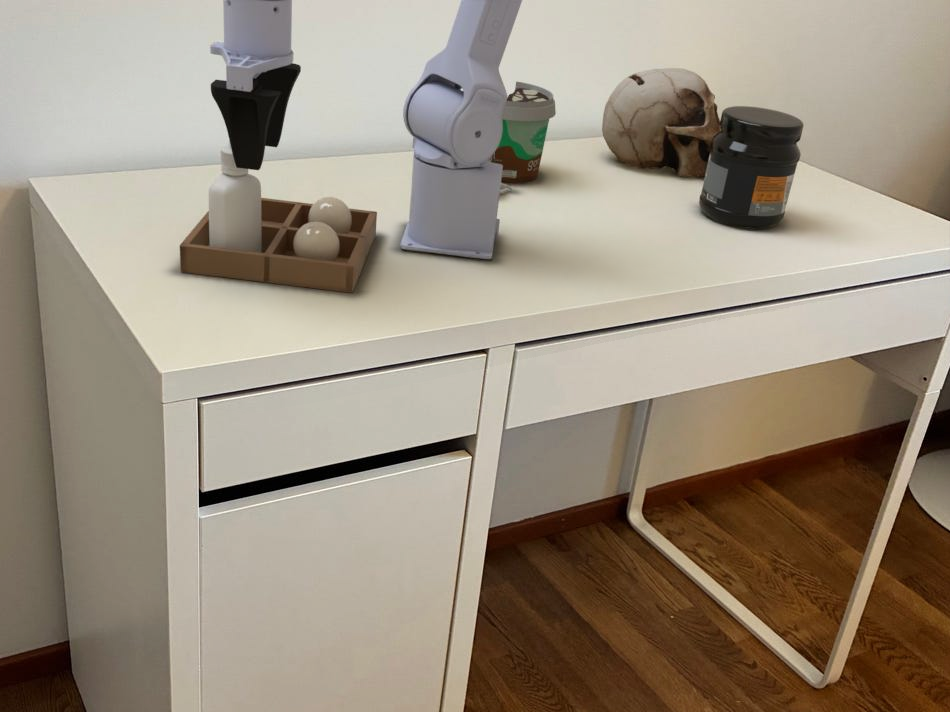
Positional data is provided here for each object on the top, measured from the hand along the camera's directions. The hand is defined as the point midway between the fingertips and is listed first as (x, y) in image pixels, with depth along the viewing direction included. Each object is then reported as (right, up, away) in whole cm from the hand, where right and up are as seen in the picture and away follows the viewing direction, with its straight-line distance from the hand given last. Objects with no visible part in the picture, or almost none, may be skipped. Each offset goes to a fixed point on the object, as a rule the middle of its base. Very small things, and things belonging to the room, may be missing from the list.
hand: (257, 156), depth 101 cm
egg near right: (+5, -7, +4) cm, 10 cm away
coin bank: (+46, +15, +52) cm, 71 cm away
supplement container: (+52, +4, +35) cm, 63 cm away
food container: (+26, +10, +40) cm, 49 cm away
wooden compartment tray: (+1, -7, +9) cm, 11 cm away
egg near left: (+5, -3, +11) cm, 12 cm away
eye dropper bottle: (-3, -8, +6) cm, 11 cm away
